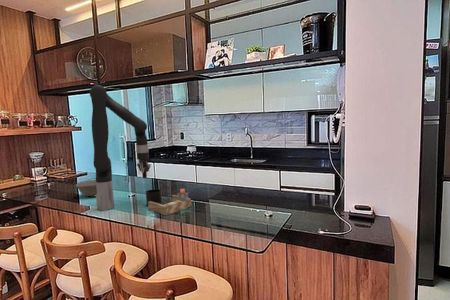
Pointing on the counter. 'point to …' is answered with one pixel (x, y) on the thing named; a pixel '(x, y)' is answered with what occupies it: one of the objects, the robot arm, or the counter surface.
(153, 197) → the mug
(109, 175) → the robot arm
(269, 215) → the counter surface
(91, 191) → the ceramic bowl
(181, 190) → the button
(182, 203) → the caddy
